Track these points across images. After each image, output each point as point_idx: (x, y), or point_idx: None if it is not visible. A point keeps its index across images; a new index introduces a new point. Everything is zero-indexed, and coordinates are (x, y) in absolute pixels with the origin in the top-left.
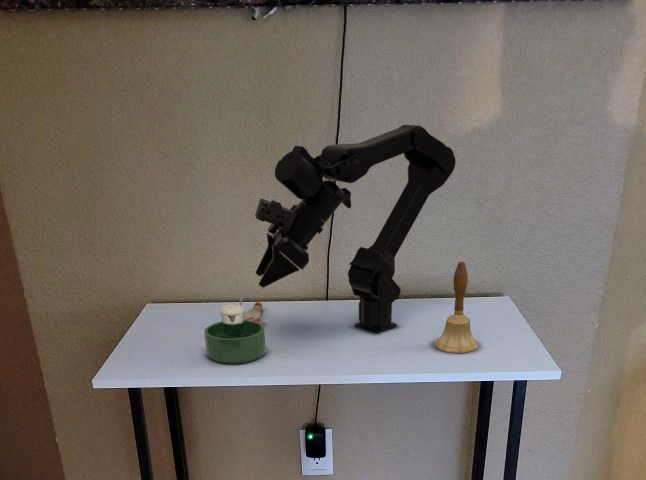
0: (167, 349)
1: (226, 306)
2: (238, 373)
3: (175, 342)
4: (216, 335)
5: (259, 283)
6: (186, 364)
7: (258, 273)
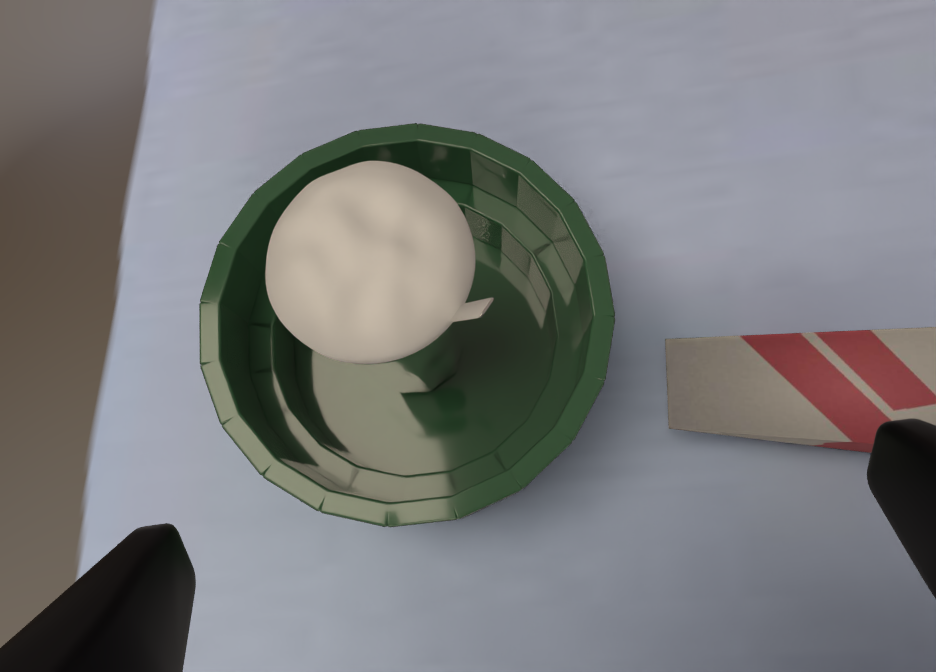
0: (525, 4)
1: (346, 199)
2: (149, 388)
3: (626, 21)
4: (514, 206)
5: (126, 537)
6: (310, 122)
7: (887, 463)
